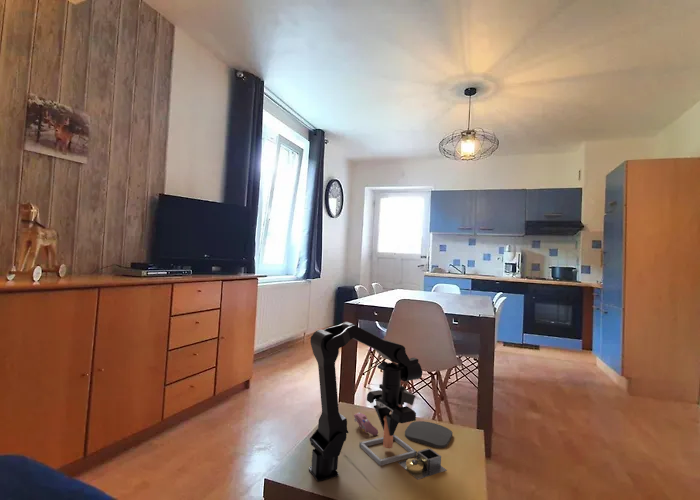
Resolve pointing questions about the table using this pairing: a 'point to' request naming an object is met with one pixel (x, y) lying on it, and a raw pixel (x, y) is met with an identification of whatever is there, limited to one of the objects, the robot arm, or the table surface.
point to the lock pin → (387, 436)
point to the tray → (384, 461)
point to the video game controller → (365, 424)
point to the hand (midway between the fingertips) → (388, 433)
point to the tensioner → (423, 464)
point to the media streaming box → (429, 434)
